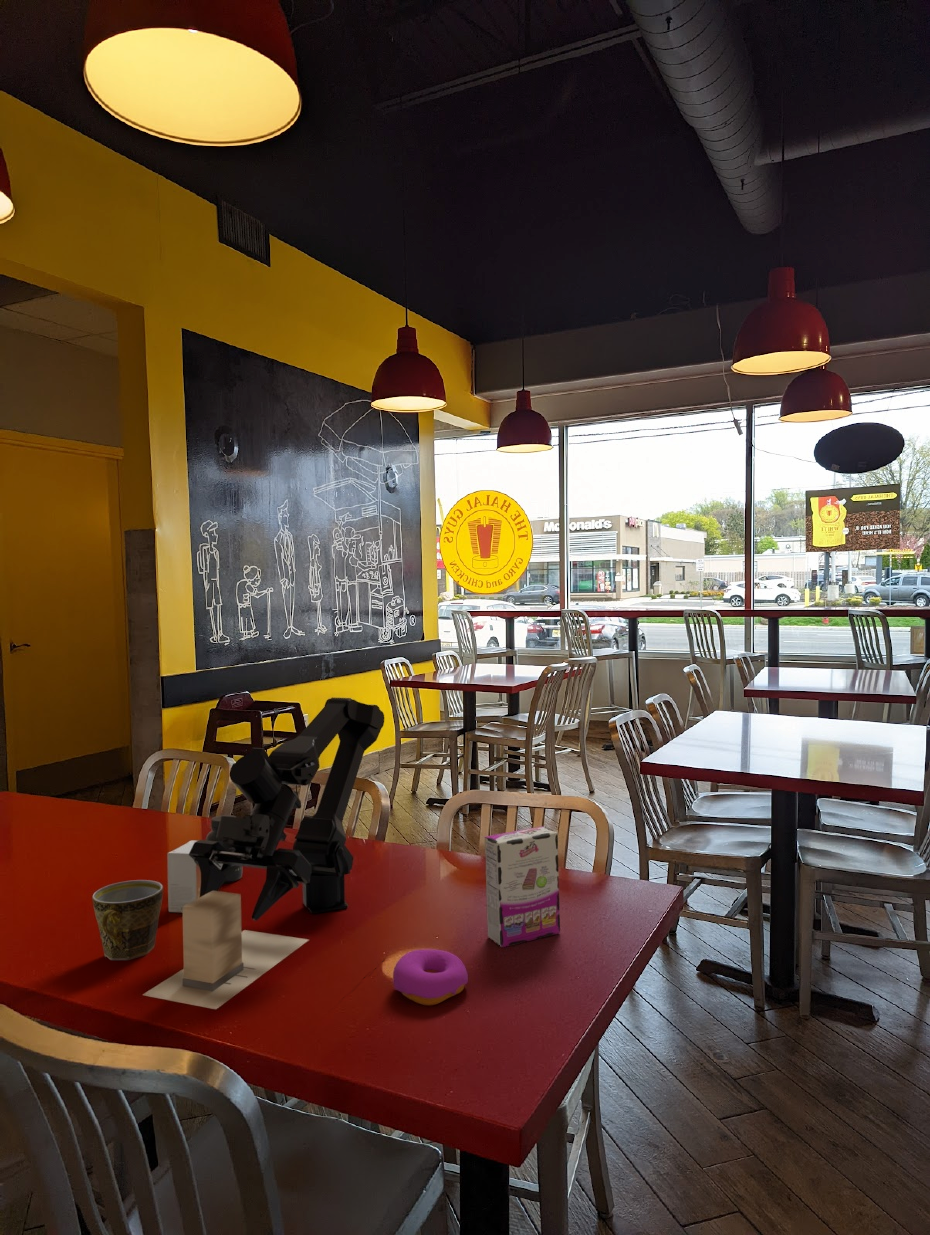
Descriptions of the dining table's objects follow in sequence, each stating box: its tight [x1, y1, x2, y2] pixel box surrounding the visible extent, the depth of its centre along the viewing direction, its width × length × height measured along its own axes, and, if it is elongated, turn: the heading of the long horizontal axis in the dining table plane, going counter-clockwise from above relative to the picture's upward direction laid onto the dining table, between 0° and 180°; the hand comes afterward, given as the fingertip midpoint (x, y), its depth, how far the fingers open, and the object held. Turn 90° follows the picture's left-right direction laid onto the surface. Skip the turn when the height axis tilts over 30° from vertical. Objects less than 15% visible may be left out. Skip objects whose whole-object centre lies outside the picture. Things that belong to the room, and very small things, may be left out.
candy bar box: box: [484, 826, 561, 948], centre depth 129 cm, size 11×5×16 cm, turn 117°
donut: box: [392, 948, 469, 1006], centre depth 112 cm, size 10×10×4 cm
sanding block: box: [182, 890, 244, 992], centre depth 114 cm, size 7×5×11 cm
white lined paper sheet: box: [142, 929, 310, 1010], centre depth 118 cm, size 23×12×1 cm, turn 160°
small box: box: [166, 840, 201, 914], centre depth 145 cm, size 8×6×10 cm
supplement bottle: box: [205, 814, 243, 885], centre depth 159 cm, size 7×7×12 cm
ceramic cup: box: [92, 879, 164, 961], centre depth 122 cm, size 13×10×10 cm
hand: (227, 915), depth 117 cm, fingers open, 9 cm apart
